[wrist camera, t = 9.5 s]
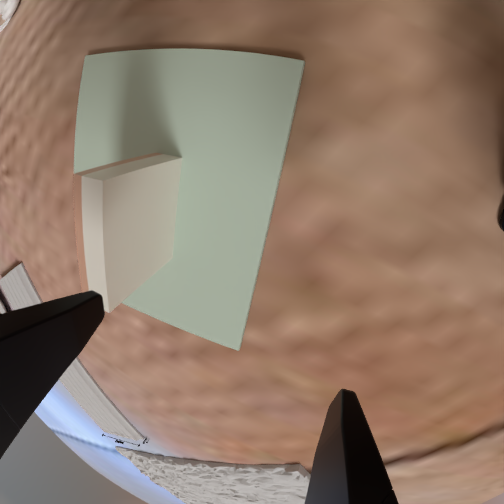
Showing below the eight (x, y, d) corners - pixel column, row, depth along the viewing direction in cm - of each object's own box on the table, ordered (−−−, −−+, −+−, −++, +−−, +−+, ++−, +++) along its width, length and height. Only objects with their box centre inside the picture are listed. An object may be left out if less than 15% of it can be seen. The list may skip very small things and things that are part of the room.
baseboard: (29, 257, 28) (5, 276, 33) (12, 267, 26) (-8, 285, 31) (153, 436, 37) (108, 426, 42) (144, 450, 34) (100, 437, 39)
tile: (182, 157, 17) (103, 181, 11) (172, 258, 20) (109, 312, 14) (155, 152, 17) (73, 173, 11) (149, 250, 21) (83, 299, 14)
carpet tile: (199, 507, 53) (196, 513, 51) (115, 443, 45) (110, 450, 44) (356, 517, 36) (355, 526, 34) (301, 459, 29) (298, 473, 27)
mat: (305, 62, 13) (304, 60, 13) (240, 346, 22) (238, 350, 22) (89, 56, 16) (85, 55, 16) (84, 280, 25) (81, 282, 25)
